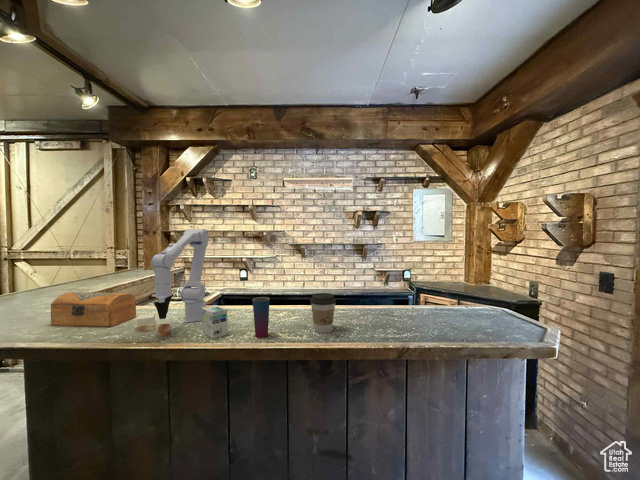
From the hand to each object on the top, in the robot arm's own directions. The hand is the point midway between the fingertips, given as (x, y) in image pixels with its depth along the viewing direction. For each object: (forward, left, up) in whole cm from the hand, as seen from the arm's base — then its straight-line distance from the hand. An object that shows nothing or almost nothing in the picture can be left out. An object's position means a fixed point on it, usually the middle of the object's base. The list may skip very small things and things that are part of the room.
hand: (163, 316), depth 111 cm
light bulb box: (-19, +8, -8) cm, 22 cm away
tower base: (+8, -11, -8) cm, 16 cm away
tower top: (+8, -11, -5) cm, 15 cm away
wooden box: (+32, -34, -8) cm, 47 cm away
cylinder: (0, 0, -8) cm, 8 cm away
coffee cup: (-61, +25, -8) cm, 66 cm away
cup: (-36, +19, -8) cm, 41 cm away
